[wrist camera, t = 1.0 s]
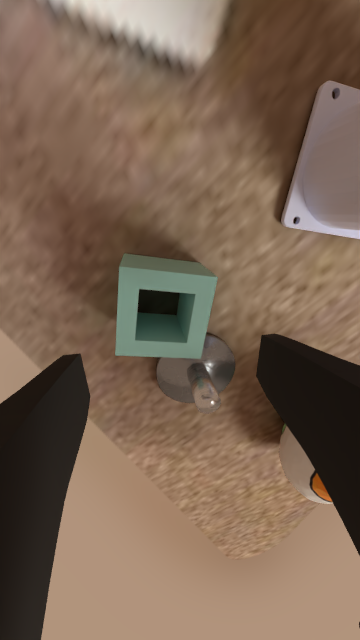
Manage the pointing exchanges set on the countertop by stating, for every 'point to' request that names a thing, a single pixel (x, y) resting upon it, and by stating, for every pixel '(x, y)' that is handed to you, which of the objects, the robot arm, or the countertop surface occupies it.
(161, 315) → the collar
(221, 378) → the post
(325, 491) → the decorative sculpture
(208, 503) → the countertop surface
